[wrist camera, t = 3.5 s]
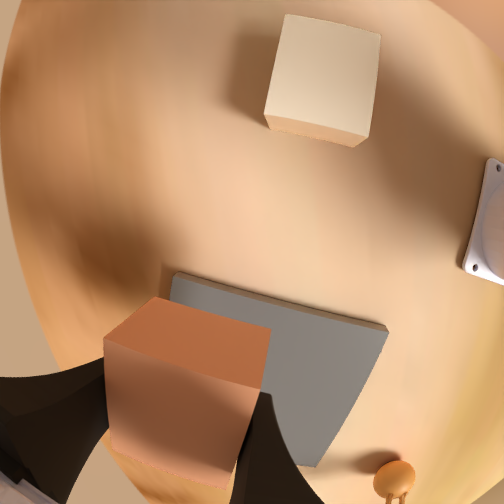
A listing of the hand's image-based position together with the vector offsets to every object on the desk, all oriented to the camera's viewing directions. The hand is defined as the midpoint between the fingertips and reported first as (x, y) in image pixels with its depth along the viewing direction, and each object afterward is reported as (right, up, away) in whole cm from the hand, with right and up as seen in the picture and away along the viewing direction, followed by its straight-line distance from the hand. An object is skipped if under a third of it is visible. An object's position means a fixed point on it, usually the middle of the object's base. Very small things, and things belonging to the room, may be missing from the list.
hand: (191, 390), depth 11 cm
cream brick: (+7, +15, +5) cm, 17 cm away
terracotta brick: (0, 0, +1) cm, 2 cm away
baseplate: (+3, -4, +9) cm, 10 cm away
